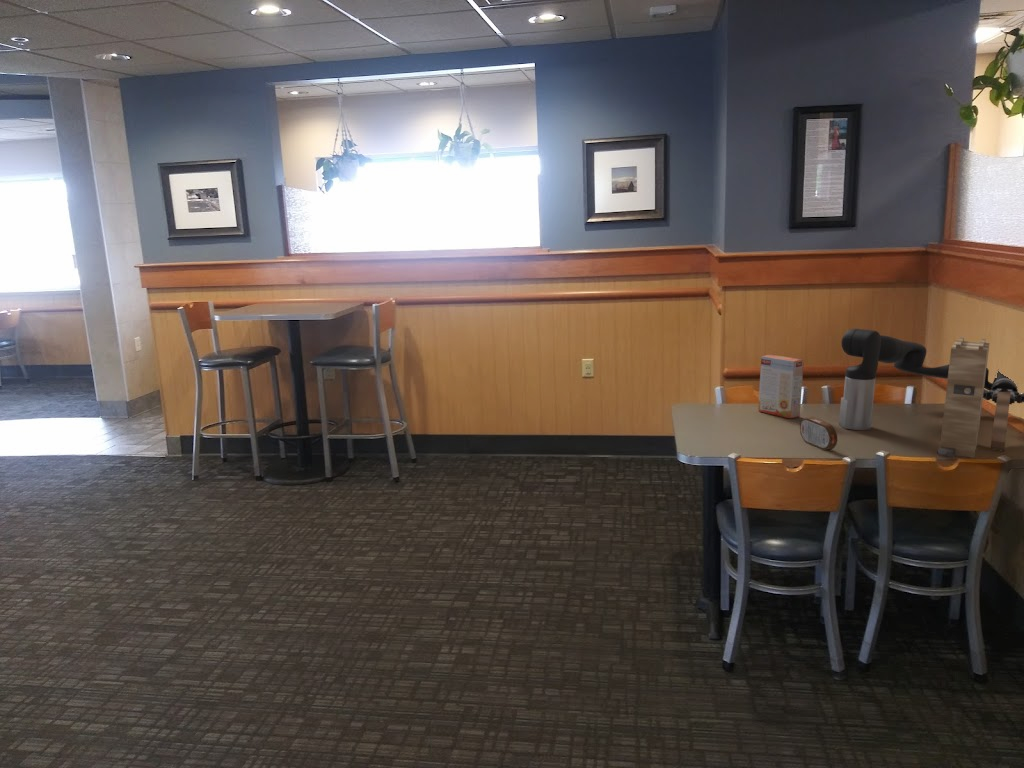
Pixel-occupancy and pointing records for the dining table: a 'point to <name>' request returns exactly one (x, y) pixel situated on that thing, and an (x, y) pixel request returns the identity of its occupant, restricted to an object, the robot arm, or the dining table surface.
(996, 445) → the bar
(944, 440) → the stand
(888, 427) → the dining table surface
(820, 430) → the tin
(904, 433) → the dining table surface
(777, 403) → the cracker box
